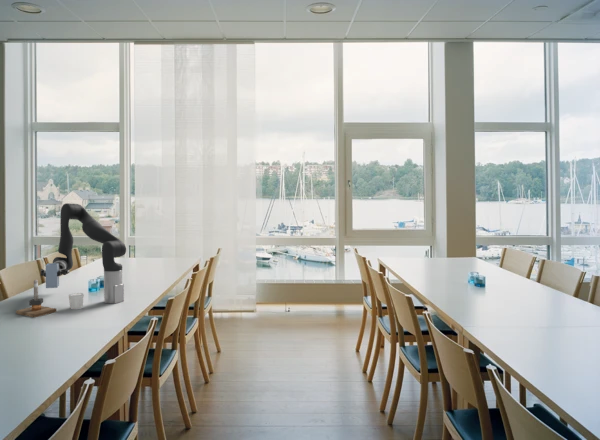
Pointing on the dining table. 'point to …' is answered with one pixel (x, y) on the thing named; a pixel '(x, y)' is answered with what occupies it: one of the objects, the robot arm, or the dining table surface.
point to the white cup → (76, 300)
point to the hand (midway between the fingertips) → (51, 274)
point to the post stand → (36, 306)
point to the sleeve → (52, 275)
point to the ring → (36, 301)
